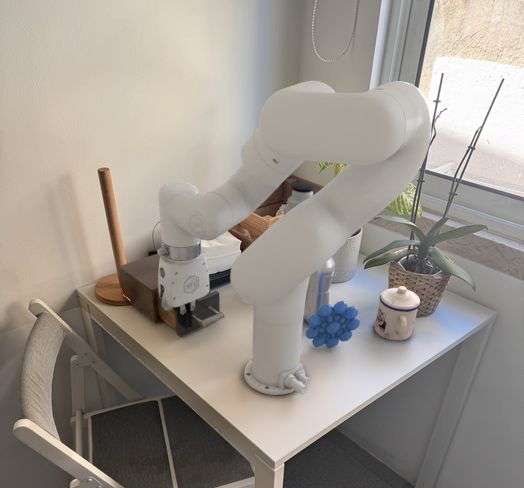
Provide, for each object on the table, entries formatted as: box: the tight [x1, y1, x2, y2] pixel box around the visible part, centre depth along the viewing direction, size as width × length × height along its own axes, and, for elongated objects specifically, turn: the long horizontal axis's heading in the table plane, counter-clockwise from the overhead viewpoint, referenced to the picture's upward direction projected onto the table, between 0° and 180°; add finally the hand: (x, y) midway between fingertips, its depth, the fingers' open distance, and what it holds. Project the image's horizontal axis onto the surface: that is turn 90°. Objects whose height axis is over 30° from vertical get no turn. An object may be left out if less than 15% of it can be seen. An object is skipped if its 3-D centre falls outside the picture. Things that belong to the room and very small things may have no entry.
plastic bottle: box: [303, 256, 336, 323], centre depth 117 cm, size 6×7×20 cm
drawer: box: [155, 289, 225, 338], centre depth 118 cm, size 19×11×7 cm, turn 42°
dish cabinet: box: [118, 253, 164, 324], centre depth 125 cm, size 15×13×9 cm
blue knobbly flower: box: [305, 300, 361, 349], centre depth 112 cm, size 12×7×12 cm, turn 93°
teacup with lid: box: [374, 285, 421, 342], centre depth 116 cm, size 12×9×12 cm
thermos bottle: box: [283, 182, 314, 294], centre depth 126 cm, size 8×8×28 cm
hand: (185, 324), depth 111 cm, fingers closed
